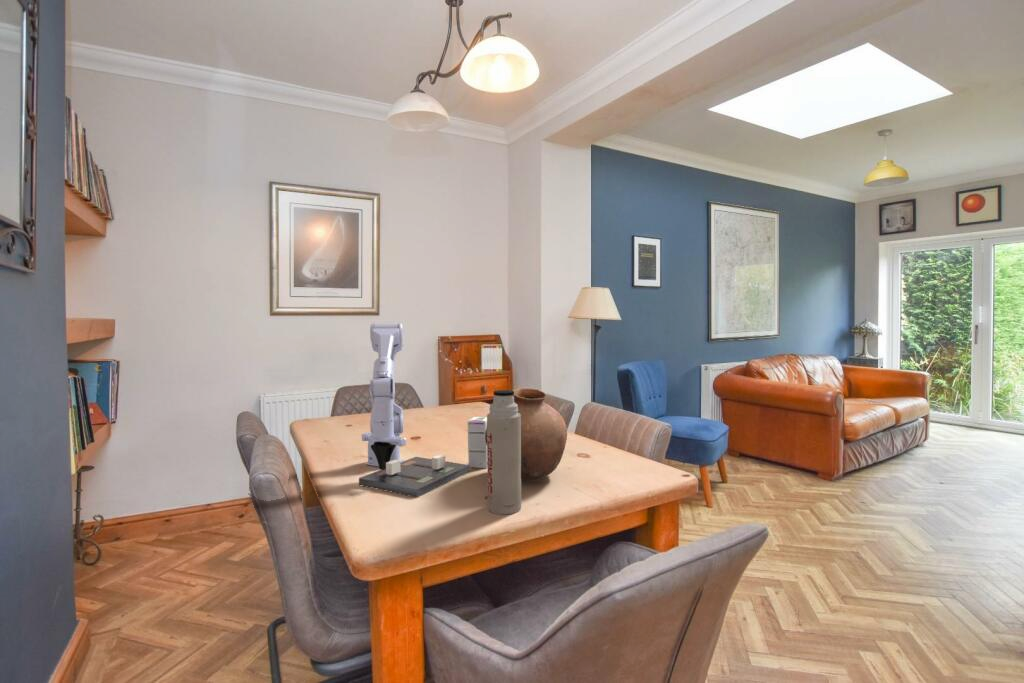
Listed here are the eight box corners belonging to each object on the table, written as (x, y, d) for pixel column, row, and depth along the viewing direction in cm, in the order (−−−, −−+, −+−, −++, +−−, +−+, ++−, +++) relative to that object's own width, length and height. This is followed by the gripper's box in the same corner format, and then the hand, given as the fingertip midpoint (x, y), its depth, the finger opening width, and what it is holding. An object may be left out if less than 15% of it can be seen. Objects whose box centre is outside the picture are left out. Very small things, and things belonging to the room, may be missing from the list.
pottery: (507, 462, 159) (507, 382, 158) (578, 471, 149) (578, 386, 148) (470, 483, 139) (469, 392, 138) (549, 496, 129) (548, 397, 127)
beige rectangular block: (386, 473, 140) (385, 462, 140) (395, 470, 143) (394, 459, 143) (391, 474, 139) (391, 463, 139) (400, 471, 142) (400, 460, 142)
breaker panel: (359, 485, 138) (358, 477, 138) (416, 462, 159) (416, 456, 159) (417, 497, 128) (417, 489, 128) (469, 471, 149) (469, 464, 149)
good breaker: (432, 468, 145) (431, 457, 145) (439, 465, 148) (439, 454, 148) (437, 469, 144) (437, 458, 144) (445, 466, 147) (445, 455, 147)
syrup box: (486, 468, 153) (486, 420, 152) (467, 467, 154) (467, 419, 153) (491, 463, 158) (490, 416, 158) (473, 462, 159) (472, 416, 159)
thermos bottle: (488, 515, 117) (487, 393, 115) (487, 502, 125) (486, 388, 123) (523, 513, 117) (522, 392, 116) (519, 501, 125) (518, 388, 124)
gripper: (353, 420, 142) (354, 468, 143) (393, 425, 135) (394, 476, 136) (371, 416, 148) (372, 462, 149) (410, 420, 141) (411, 469, 142)
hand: (383, 468), depth 143 cm, fingers closed
